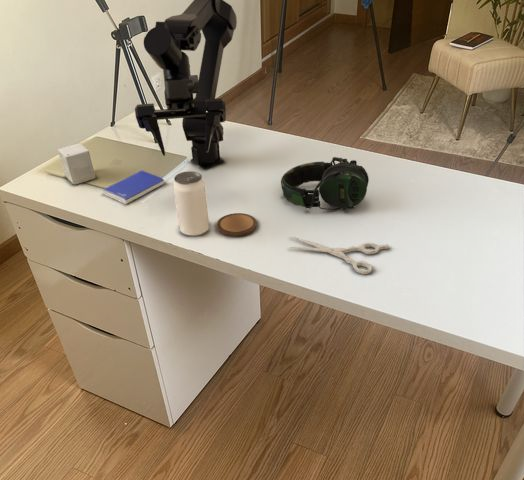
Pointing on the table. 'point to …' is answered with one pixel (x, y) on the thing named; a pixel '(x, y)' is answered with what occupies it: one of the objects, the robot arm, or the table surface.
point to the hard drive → (133, 187)
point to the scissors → (341, 251)
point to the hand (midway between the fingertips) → (185, 153)
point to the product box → (77, 163)
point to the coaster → (237, 225)
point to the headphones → (326, 184)
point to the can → (191, 203)
